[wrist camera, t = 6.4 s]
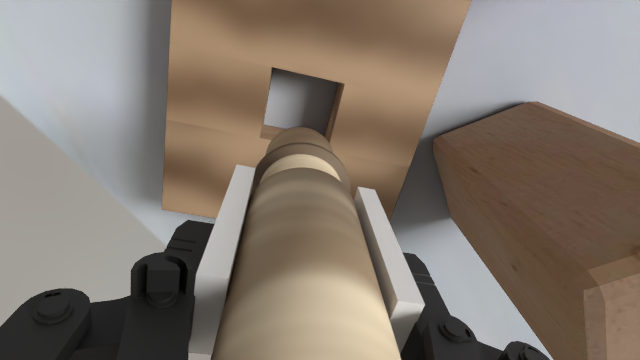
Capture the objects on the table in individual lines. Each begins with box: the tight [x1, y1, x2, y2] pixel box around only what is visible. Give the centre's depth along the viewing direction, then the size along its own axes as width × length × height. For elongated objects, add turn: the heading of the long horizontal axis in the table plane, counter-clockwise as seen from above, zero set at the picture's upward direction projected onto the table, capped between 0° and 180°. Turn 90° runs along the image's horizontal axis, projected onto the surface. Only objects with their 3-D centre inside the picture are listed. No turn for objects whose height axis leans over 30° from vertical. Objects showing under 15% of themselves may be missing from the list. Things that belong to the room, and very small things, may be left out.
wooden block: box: [433, 102, 640, 360], centre depth 26 cm, size 10×10×20 cm
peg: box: [211, 127, 401, 360], centre depth 12 cm, size 5×5×18 cm
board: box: [162, 0, 472, 221], centre depth 29 cm, size 22×20×4 cm
